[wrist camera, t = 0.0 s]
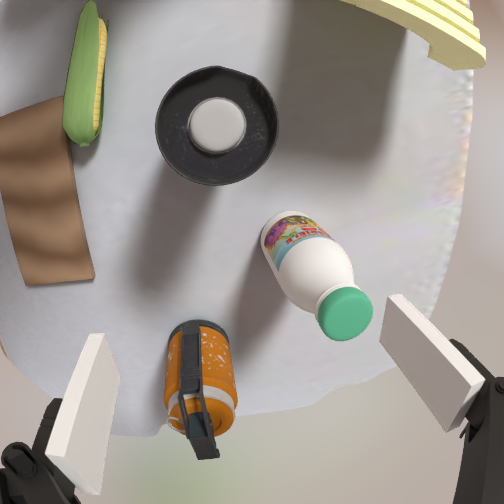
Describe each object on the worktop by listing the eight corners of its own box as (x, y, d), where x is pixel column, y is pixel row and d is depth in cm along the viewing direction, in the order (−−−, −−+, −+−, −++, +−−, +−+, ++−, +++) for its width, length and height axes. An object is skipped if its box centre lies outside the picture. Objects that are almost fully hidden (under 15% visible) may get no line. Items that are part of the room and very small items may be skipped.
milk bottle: (319, 255, 44) (389, 339, 26) (266, 270, 44) (310, 368, 26) (310, 203, 41) (390, 264, 23) (253, 217, 41) (296, 294, 23)
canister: (177, 365, 48) (174, 471, 30) (159, 309, 44) (142, 418, 25) (232, 358, 49) (250, 464, 31) (221, 300, 45) (237, 409, 26)
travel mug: (196, 170, 38) (190, 210, 19) (167, 116, 34) (130, 103, 16) (252, 141, 37) (301, 153, 19) (224, 86, 34) (246, 44, 16)
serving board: (-4, 120, 30) (-8, 120, 29) (66, 96, 31) (62, 95, 30) (29, 282, 39) (25, 285, 38) (95, 274, 40) (92, 278, 39)
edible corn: (55, 149, 30) (83, 146, 29) (74, -6, 23) (104, -15, 23) (80, 146, 35) (108, 144, 34) (96, 6, 28) (125, -2, 27)
